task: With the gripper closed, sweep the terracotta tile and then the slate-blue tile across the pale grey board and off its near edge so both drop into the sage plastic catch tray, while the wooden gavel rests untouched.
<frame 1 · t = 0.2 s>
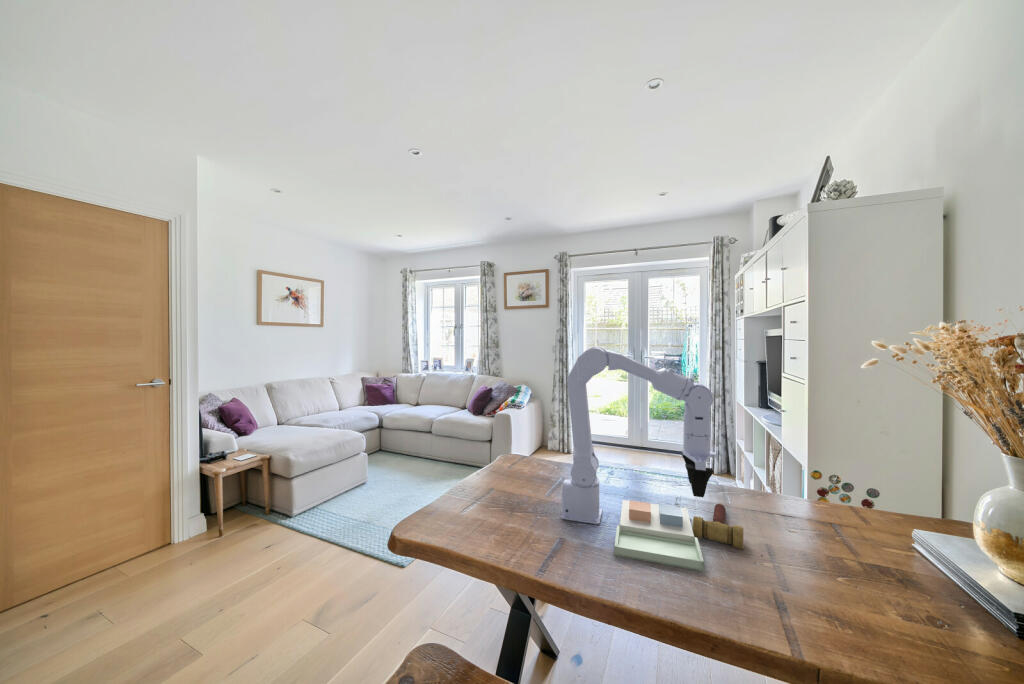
hand: (696, 489, 89), 10 cm above the table, tool pointing down, fingers open, 7 cm apart
tile terracotta: (639, 516, 93), point 2 cm above the table, touching board
tile slate: (670, 520, 90), point 2 cm above the table, touching board
board: (654, 524, 92), on the table
gavel: (718, 526, 92), on the table
tray: (656, 550, 81), on the table
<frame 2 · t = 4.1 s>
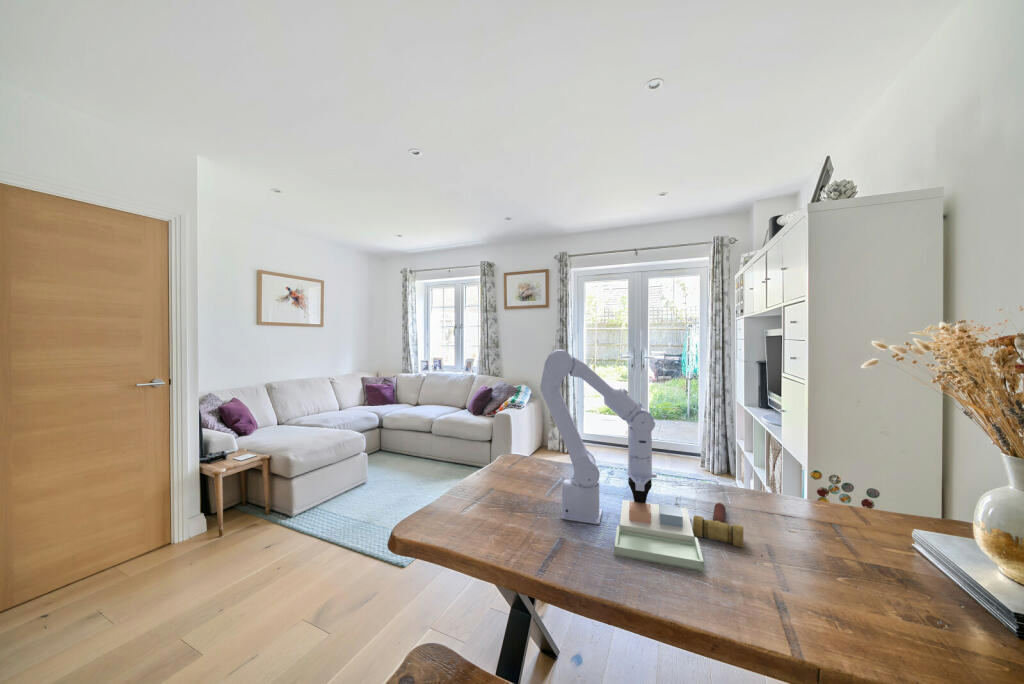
hand: (639, 507, 96), 3 cm above the table, tool pointing down, fingers closed
tile terracotta: (640, 516, 92), point 2 cm above the table, touching board, gripper
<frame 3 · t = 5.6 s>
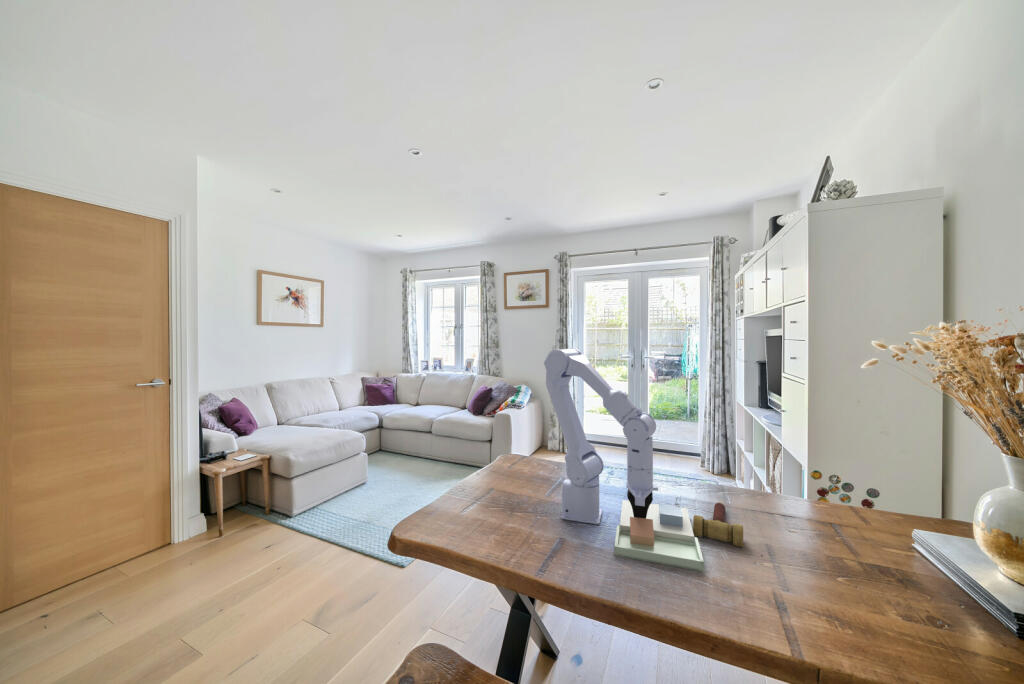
hand: (639, 522, 88), 3 cm above the table, tool pointing down, fingers closed
tile terracotta: (641, 534, 85), point 1 cm above the table, tilted 22°, touching board
everything else where it was.
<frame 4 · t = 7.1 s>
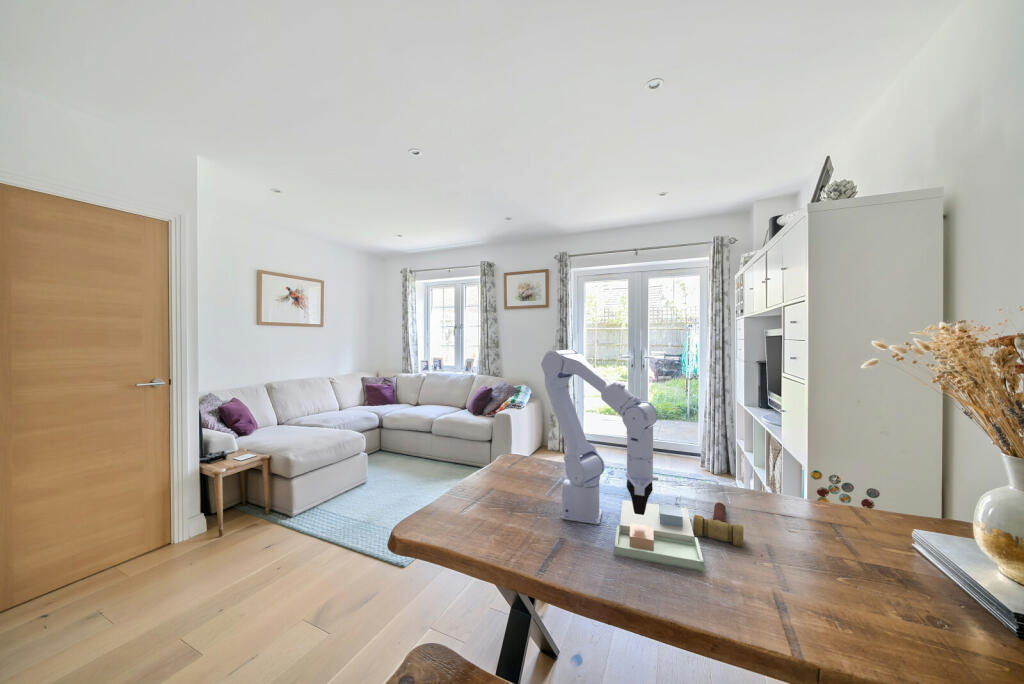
hand: (639, 513, 86), 6 cm above the table, tool pointing down, fingers closed
tile terracotta: (641, 541, 84), point 1 cm above the table, touching tray
everything else where it was.
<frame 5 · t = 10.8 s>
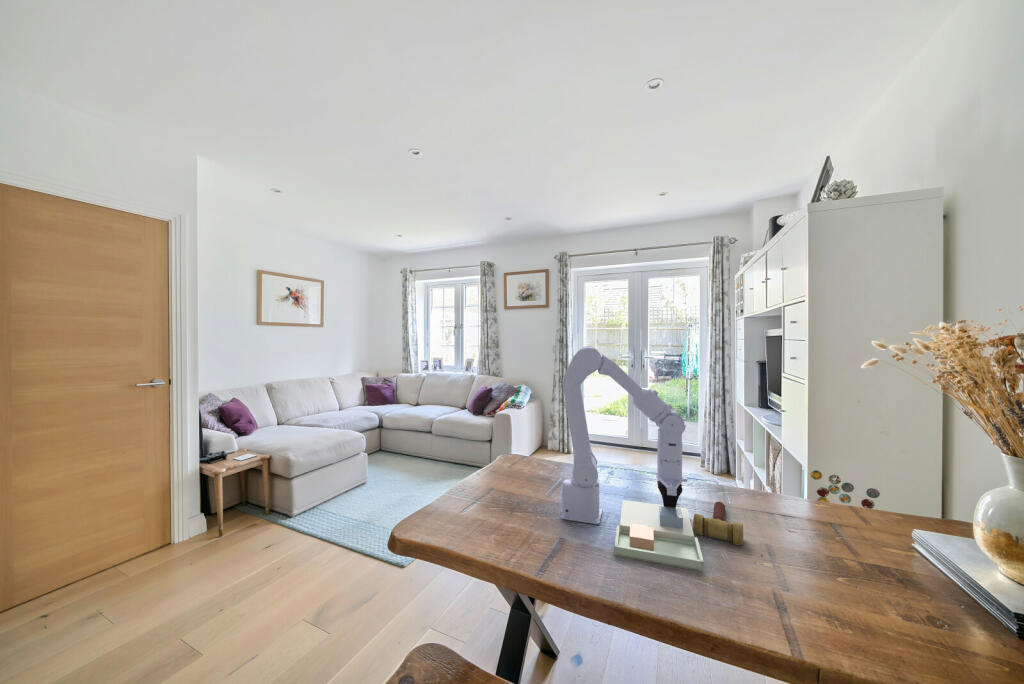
hand: (669, 512, 93), 3 cm above the table, tool pointing down, fingers closed
tile slate: (670, 522, 89), point 2 cm above the table, touching gripper
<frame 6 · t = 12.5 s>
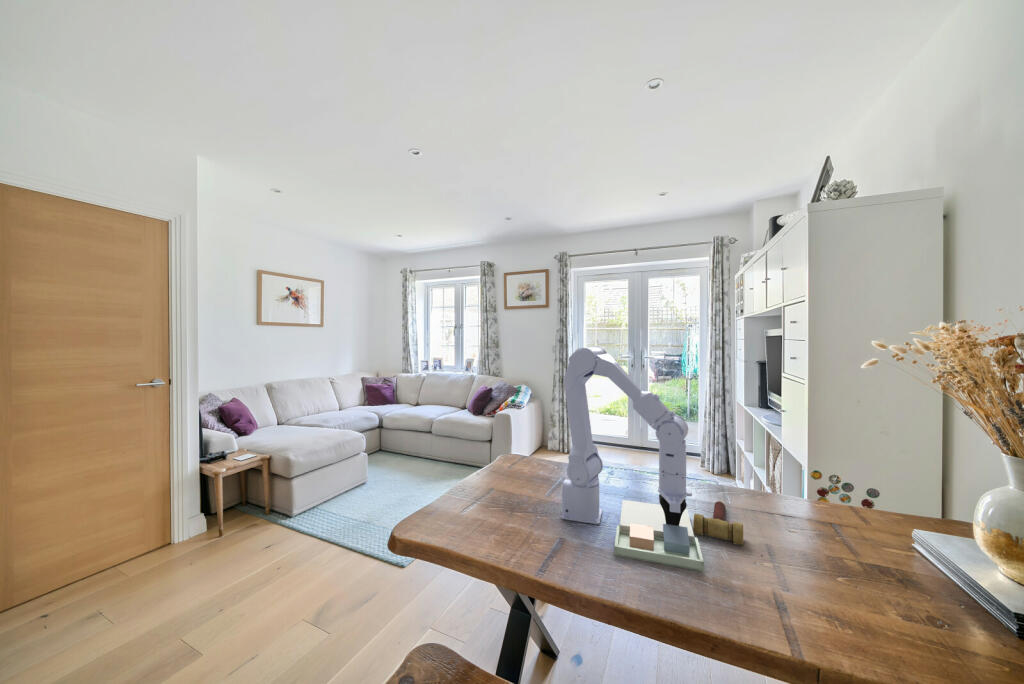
hand: (672, 529, 85), 3 cm above the table, tool pointing down, fingers closed
tile slate: (675, 543, 82), point 1 cm above the table, tilted 18°
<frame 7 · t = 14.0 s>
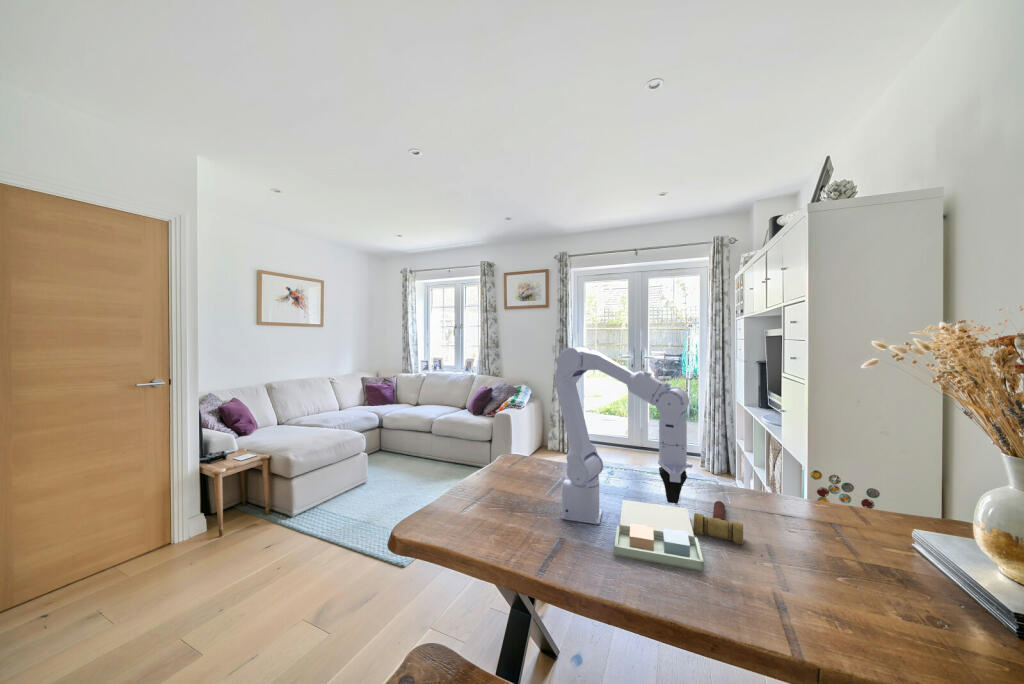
hand: (672, 501, 84), 9 cm above the table, tool pointing down, fingers closed
tile slate: (675, 547, 81), point 1 cm above the table, touching tray
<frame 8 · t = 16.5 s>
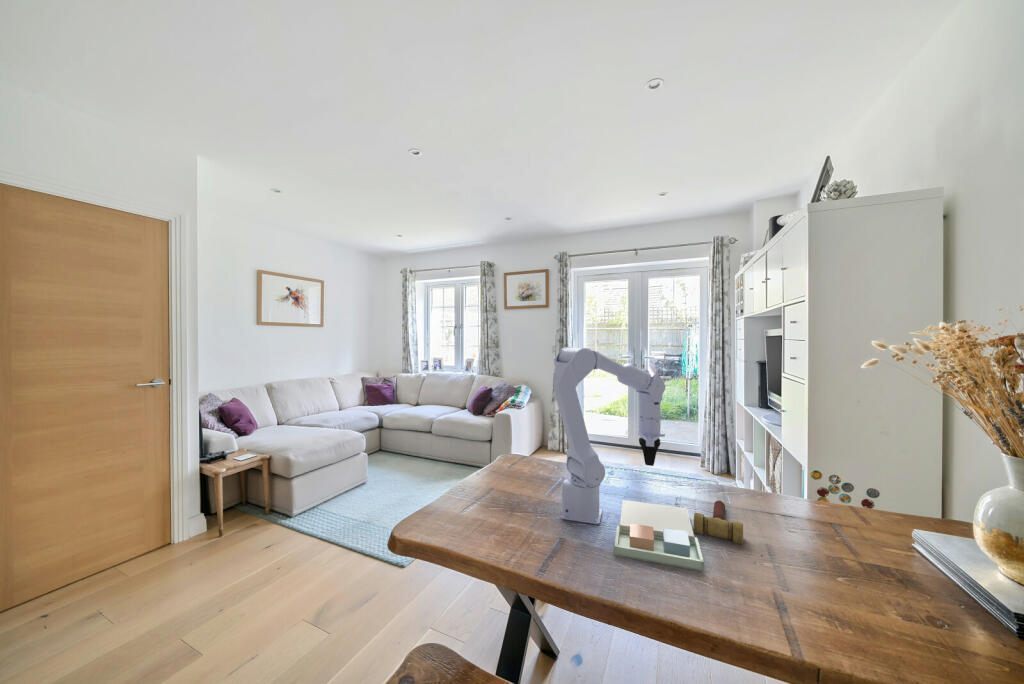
hand: (649, 464, 105), 10 cm above the table, tool pointing down, fingers closed
at the end: tile terracotta inside the target area on the tray (3.4 cm from its centre), point 0.6 cm above the tray's base; tile slate inside the target area on the tray (4.3 cm from its centre), point 0.6 cm above the tray's base; tile terracotta touching tray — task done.
